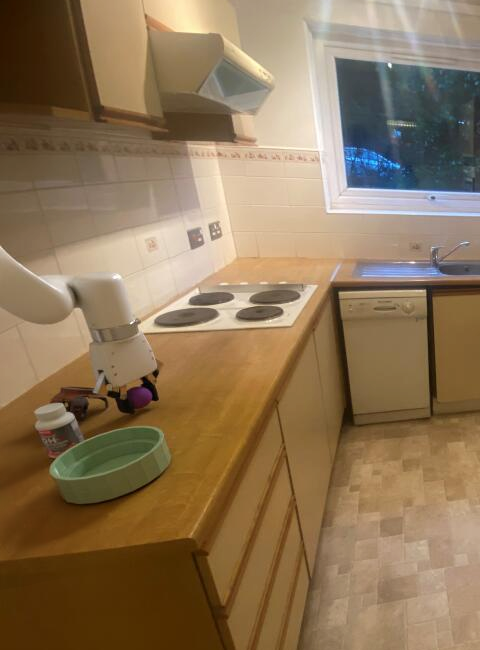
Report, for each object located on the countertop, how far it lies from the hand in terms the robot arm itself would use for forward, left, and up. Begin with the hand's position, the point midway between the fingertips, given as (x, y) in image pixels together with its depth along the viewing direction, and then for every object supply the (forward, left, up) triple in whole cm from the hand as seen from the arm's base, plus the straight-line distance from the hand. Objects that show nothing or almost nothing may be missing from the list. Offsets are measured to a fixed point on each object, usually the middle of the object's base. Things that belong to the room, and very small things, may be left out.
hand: (140, 405), depth 98 cm
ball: (0, 0, +2) cm, 2 cm away
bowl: (+16, -19, -2) cm, 25 cm away
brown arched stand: (-11, -5, -2) cm, 12 cm away
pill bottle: (-1, -15, -2) cm, 15 cm away
